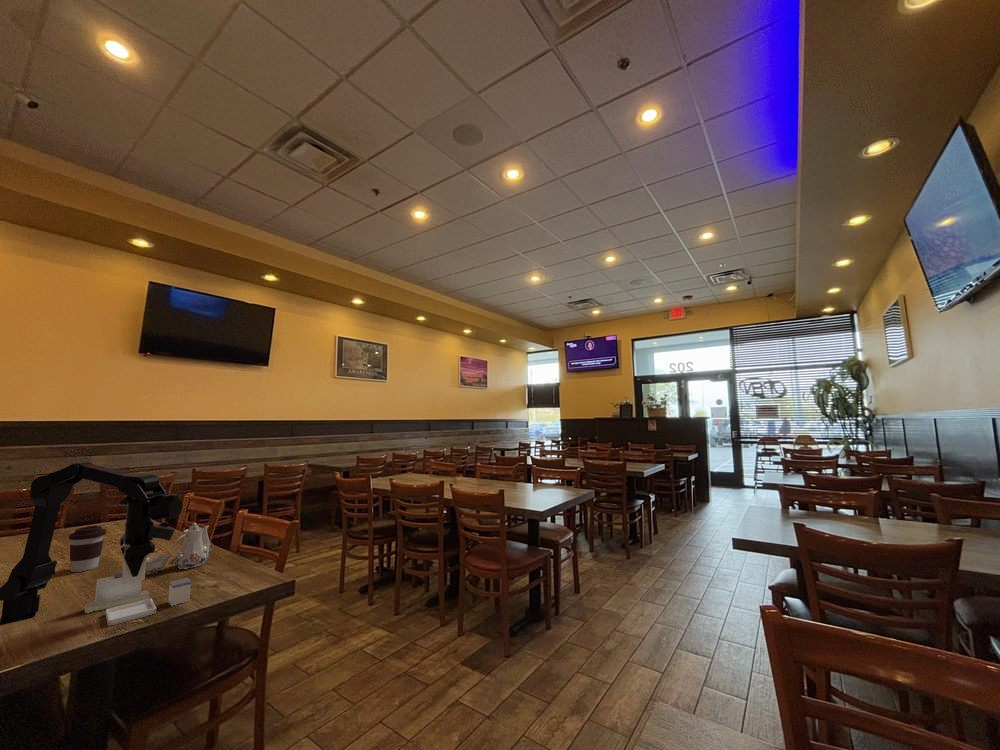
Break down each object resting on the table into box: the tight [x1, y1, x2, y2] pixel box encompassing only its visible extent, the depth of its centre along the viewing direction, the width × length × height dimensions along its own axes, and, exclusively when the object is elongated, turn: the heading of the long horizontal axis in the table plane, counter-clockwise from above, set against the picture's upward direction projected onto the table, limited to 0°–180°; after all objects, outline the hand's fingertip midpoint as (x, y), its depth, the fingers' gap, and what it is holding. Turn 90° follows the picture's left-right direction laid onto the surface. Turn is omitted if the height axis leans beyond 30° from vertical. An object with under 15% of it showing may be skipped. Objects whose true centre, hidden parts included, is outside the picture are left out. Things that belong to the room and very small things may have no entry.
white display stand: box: [84, 570, 150, 614], centre depth 124 cm, size 14×4×9 cm, turn 137°
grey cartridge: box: [167, 577, 192, 607], centre depth 125 cm, size 4×4×6 cm
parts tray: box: [105, 597, 157, 627], centre depth 117 cm, size 10×10×2 cm
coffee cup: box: [68, 525, 107, 573], centre depth 153 cm, size 10×10×15 cm
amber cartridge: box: [122, 556, 147, 584], centre depth 118 cm, size 4×4×6 cm
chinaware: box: [145, 522, 215, 576], centre depth 157 cm, size 28×17×17 cm, turn 175°
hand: (134, 574), depth 118 cm, fingers closed on amber cartridge, 4 cm apart
